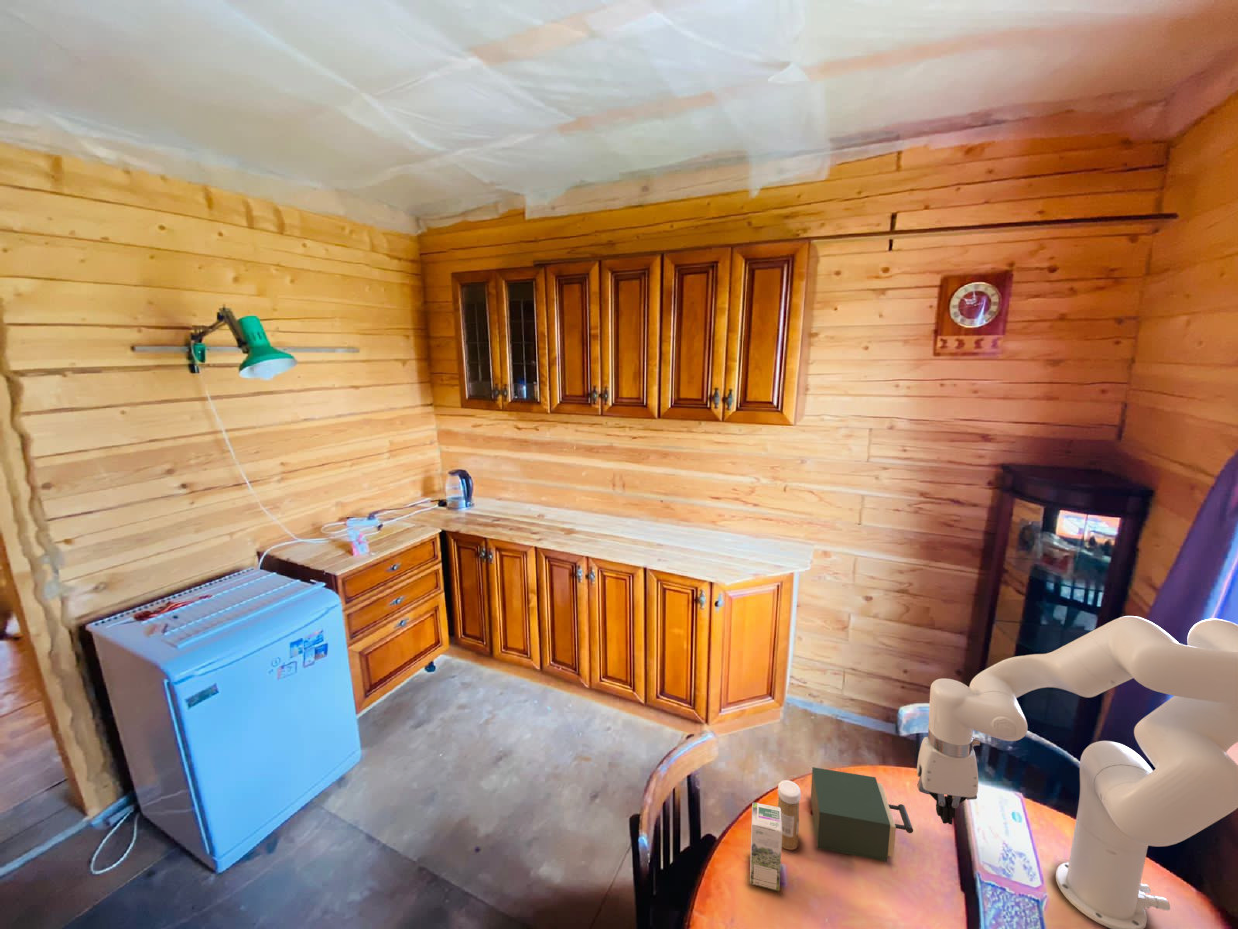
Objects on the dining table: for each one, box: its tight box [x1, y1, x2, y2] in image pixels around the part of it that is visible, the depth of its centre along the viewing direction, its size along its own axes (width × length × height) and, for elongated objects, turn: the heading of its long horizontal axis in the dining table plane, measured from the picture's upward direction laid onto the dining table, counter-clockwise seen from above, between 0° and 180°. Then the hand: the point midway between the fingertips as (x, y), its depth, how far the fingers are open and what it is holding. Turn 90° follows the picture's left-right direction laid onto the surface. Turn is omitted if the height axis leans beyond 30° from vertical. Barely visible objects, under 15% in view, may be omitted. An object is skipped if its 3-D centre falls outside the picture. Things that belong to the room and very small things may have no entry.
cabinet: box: [810, 766, 890, 863], centre depth 111 cm, size 14×13×9 cm
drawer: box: [877, 782, 914, 858], centre depth 110 cm, size 17×11×7 cm
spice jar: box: [777, 779, 802, 850], centre depth 108 cm, size 5×5×14 cm
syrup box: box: [749, 801, 783, 892], centre depth 100 cm, size 6×6×14 cm
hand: (945, 818), depth 105 cm, fingers closed
